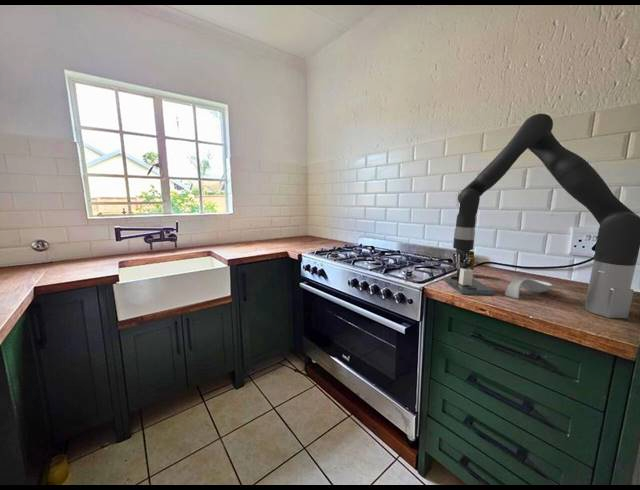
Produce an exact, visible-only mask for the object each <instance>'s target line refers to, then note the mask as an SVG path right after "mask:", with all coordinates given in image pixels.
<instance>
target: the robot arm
mask: <svg viewBox="0 0 640 490" xmlns="http://www.w3.org/2000/svg"><path fill="white" fill-rule="evenodd" d="M553 127H554V121H553V118H552V117H551V116H550V115H549V114H546V113H536V114H534V115H531V116H529V117H528V118H526V120H525V121H524V122H523V123H522V125H521V126H520V128H518V130H517V132H516V133H515V134H514V135H513V137H511V140H510V141H509V142H508V143H507V145H505V147H504V148H503V149H502V150H501V151H500V152H499V153H497V155H496V156H495V158H494V159H492V160H491V162H489V164H487V165H486V166H485V168H484V169H483V170H482V171H480V173H478V175H477V176H476V177H475V178H474V180H472V181H471V182H470V183H468V185H466V186H465V187H464V188H463V189H462V190H461V191H460V192H459V194H458V196H457V201H458V203H459V206H458V207H459V208H458V214H457V215H456V221H455V229H454V234H453V243H452V244H453V245H452V247H453V249H455V252H454V253H452V259H453V263H454V267H456V268H455V269H456V276H457V277H458V278H459V275H460V268H468V267H469V266H470V264H471V263H472V259H469V256H470V254H469V251H473V250H474V245H475V236H476V221H477V213H478V209H479V206H480V197H481V196H482V195H483V194H484V193H486V192H487V191H489V190H490V189H491V188H492V187H494V186H495V185H496V184H497V183H498V182H499V181H500V180H501V179H502V178H503V177H504V176H505V175H506V174H507V172H509V170H510V169H511V168H512V166H513V165H514V164H515V162H516V161H517V160H518V159H519V158H520V156H522V154H523V153H525V151H526V150H529V151H530V152H531V153H533V155H535V156H536V157H537V158H538V159H539V160H540V161H541V163H542V164H543V165H544V166H545V168H546V170H547V171H548V172H549V173H550V174H551V176H552V177H553V178H554V179H555V180H556V181H557V183H558V184H559V185H560V186H561V187H562V189H564V190H565V191H566V193H567V194H569V195H570V196H571V197H572V198H573V199H575V200H576V201H577V202H578V203H580V204H581V205H582V206H584V207H585V208H586V209H587V210H588V211H589V212H590V213H591V215H592V216H593V217H594V219H595V220H596V222H597V223H598V224H599V227H598V232H597V238H596V243H595V249H594V258H593V263H592V268H591V272H590V273H591V274H590V278H589V283H588V289H587V291H586V299H585V304H584V310H586V311H587V312H589V313H592V314H594V315H595V314H596V315H599V316H602V317H606V318H608V319H629V314H630V309H631V305H632V301H633V296H634V289H632V284H633V283H632V282H633V279H634V274H635V269H636V265H637V262H638V258H639V253H640V216H639V215H638V214H636V213H635V212H634V211H632V209H630V208H629V207H628V206H626V205H625V204H624V203H623V202H621V201H620V199H618V197H617V196H616V195H615V194H614V193H613V192H612V190H611V189H610V187H609V186H608V184H607V183H606V182H605V180H604V179H603V178H602V177H601V176H600V175H601V174H599V173H598V171H596V169H595V168H594V167H593V166H592V165H591V164H590V163H589V162H588V161H587V160H586V159H585V158H583V157H582V156H580V155H579V154H577V153H575V152H573V151H571V150H569V149H567V148H565V147H564V146H563V145H562V144H561V142H559V141H558V140H557V138H556V137H555V135H554V134H553V132H552V131H553Z"/></svg>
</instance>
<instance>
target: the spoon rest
mask: <svg viewBox="0 0 640 490" xmlns="http://www.w3.org/2000/svg"><path fill="white" fill-rule="evenodd" d="M553 286H554V284H553V283H550V282H547V281H543V280H537V279H534V278H533V279H532V278H525V277H521V276H516V277H514V278H513V279H512V280H511V281H510V283H509V284H508V286H507V288H506V290H505V291H504V296H506V297H509V298H513V299H517V300H519V299H520V289H521V288H522V289H523V290H524V291H527V292H529V293H534V294H535V293H536V294H540V293H541V294H542V293H544V292H547V291H549V290H551V289H552V288H553Z"/></svg>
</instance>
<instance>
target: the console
mask: <svg viewBox="0 0 640 490" xmlns="http://www.w3.org/2000/svg"><path fill="white" fill-rule="evenodd" d="M444 283H446V284H447V285H448V286H450V287H451V288H453V289H454V290H455V291H456V292H458V293H459V294H460V295H466V296H467V295H469V296H470V295H471V296H472V295H473V296H476V295H478V296H494V292H495V291H494V289H492V288H490V287H489V286H487V285H486V284H483V283H482V282H480V281H478V280H477V279H476V278H473V279H472V286H471V285H461V284H460V283H459V278H458V277H457V275H450V277H446V276H445V277H444Z"/></svg>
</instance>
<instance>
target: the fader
mask: <svg viewBox="0 0 640 490" xmlns="http://www.w3.org/2000/svg"><path fill="white" fill-rule="evenodd" d="M473 275H474V269H473V270H471V269H469V268H460V275H459V283H460V284H461V285H471V286H472V279H474V278H473Z"/></svg>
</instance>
